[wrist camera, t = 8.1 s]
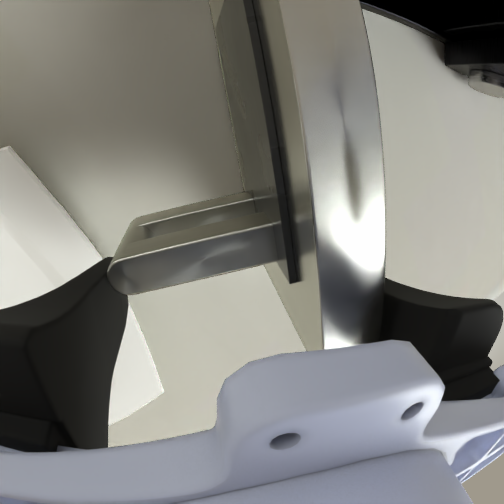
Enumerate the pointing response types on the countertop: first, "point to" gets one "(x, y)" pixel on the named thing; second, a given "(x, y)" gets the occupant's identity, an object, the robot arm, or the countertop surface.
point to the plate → (61, 273)
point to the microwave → (458, 34)
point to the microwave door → (287, 174)
